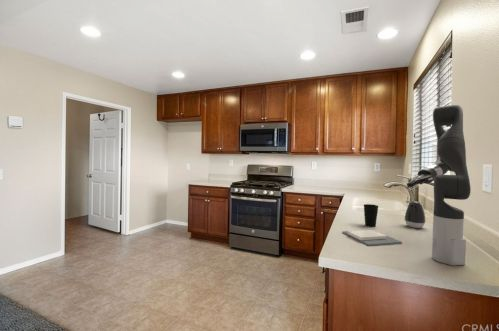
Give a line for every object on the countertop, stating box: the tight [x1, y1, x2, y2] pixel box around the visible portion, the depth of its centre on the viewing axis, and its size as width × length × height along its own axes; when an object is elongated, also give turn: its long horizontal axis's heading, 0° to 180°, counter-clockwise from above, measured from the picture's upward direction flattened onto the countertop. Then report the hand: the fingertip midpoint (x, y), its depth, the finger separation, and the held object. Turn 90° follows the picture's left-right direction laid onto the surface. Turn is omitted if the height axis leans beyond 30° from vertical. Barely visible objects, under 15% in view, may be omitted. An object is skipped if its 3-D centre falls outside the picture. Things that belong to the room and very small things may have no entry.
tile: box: [347, 229, 388, 240], centre depth 124 cm, size 10×2×14 cm
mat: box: [341, 229, 403, 247], centre depth 124 cm, size 20×18×1 cm
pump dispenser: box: [404, 200, 427, 229], centre depth 146 cm, size 10×10×15 cm
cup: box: [363, 203, 379, 228], centre depth 147 cm, size 8×8×12 cm
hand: (408, 185), depth 123 cm, fingers closed
